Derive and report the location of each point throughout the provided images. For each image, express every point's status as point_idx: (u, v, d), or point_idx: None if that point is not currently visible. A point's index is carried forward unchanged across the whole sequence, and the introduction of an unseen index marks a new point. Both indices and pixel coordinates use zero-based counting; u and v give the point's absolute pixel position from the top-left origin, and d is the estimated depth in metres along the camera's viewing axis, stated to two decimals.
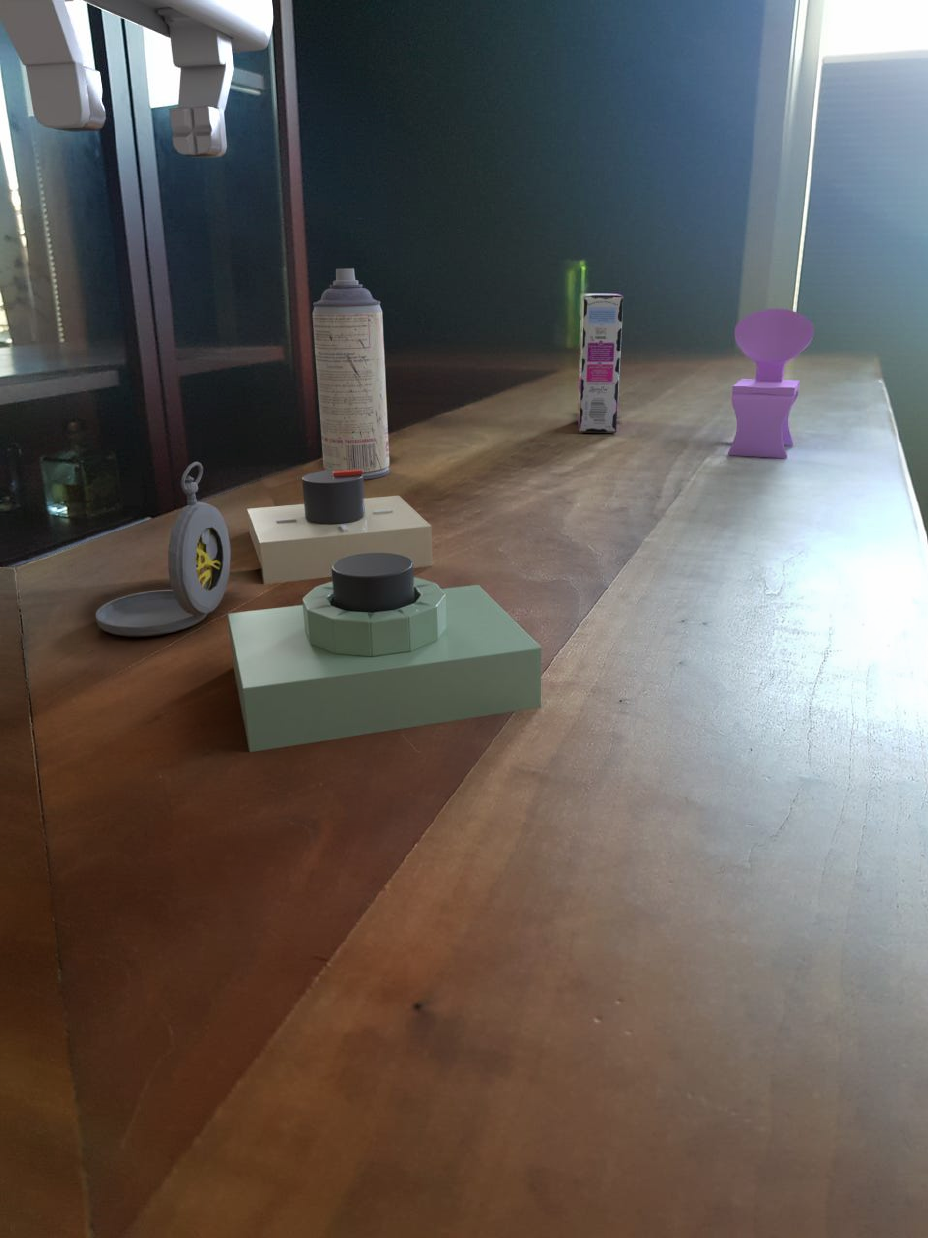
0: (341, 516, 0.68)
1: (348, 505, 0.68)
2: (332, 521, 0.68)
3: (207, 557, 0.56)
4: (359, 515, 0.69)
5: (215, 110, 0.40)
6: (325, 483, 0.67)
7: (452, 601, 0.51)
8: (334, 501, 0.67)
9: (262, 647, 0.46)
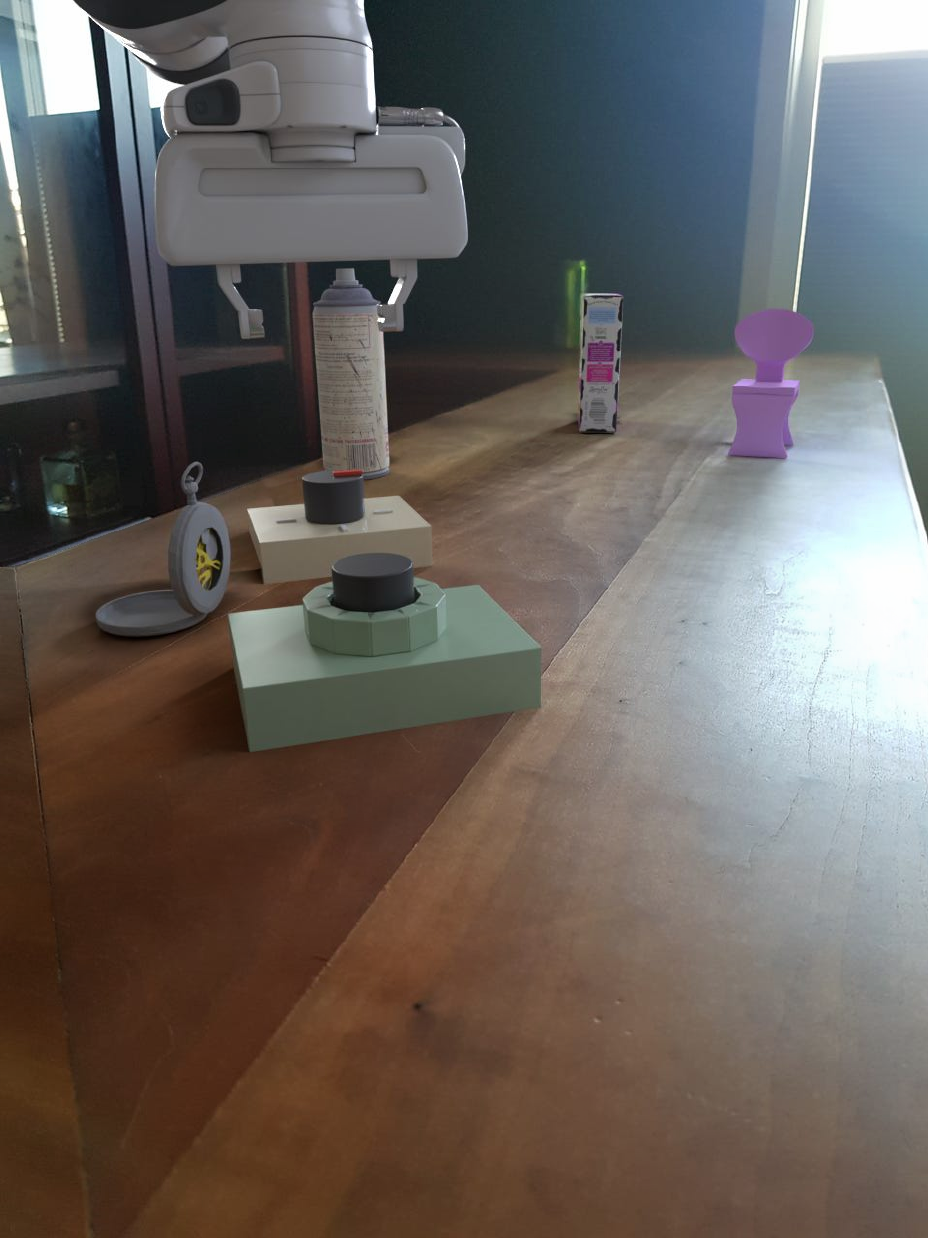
0: (341, 516, 0.68)
1: (348, 505, 0.68)
2: (332, 521, 0.68)
3: (207, 557, 0.56)
4: (359, 515, 0.69)
5: (390, 306, 0.64)
6: (325, 483, 0.67)
7: (452, 601, 0.51)
8: (334, 501, 0.67)
9: (262, 647, 0.46)
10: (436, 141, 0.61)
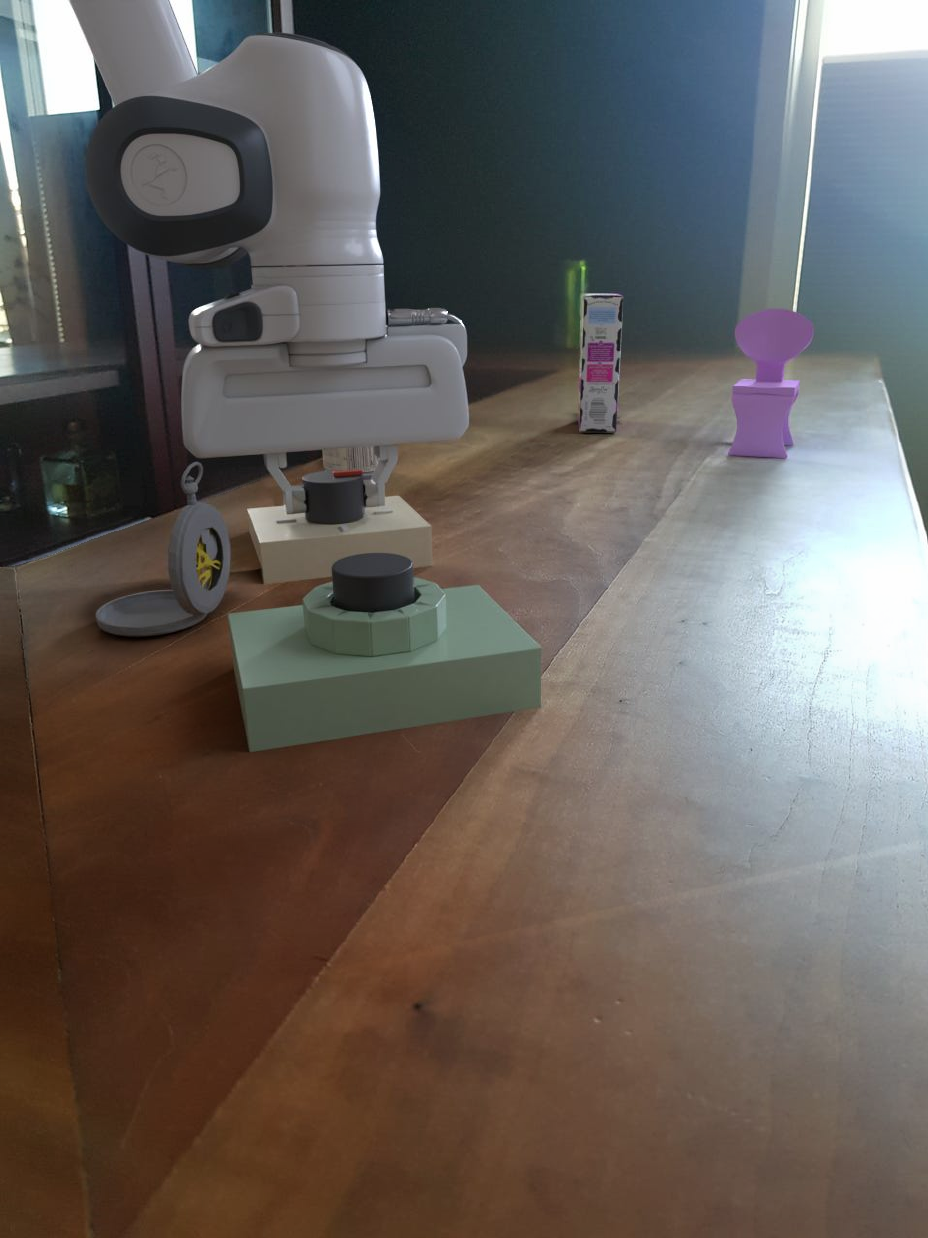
0: (341, 516, 0.68)
1: (348, 505, 0.68)
2: (332, 521, 0.68)
3: (207, 557, 0.56)
4: (359, 515, 0.69)
5: (373, 485, 0.69)
6: (325, 483, 0.67)
7: (452, 601, 0.51)
8: (334, 501, 0.67)
9: (262, 647, 0.46)
10: (441, 341, 0.66)
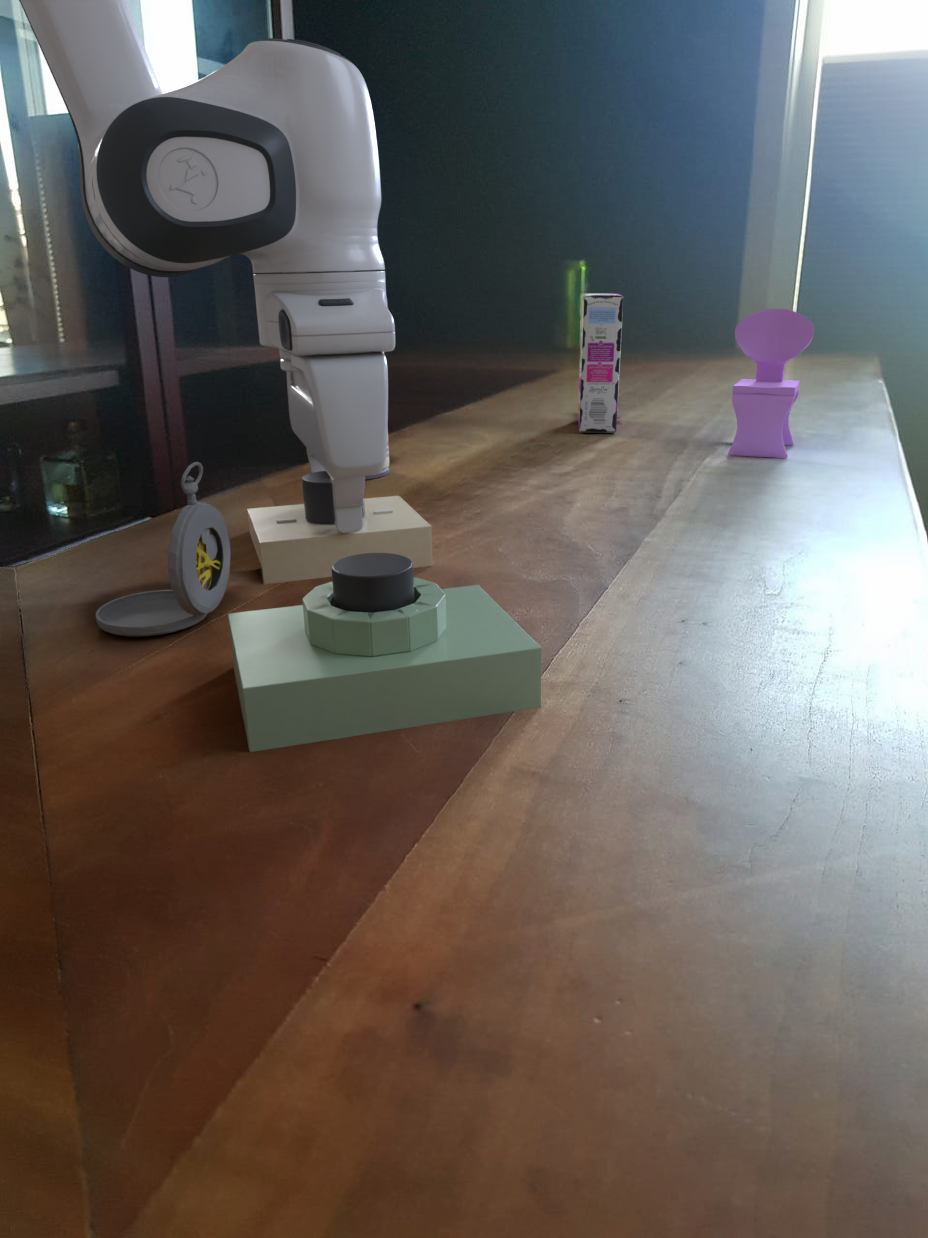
0: None
1: None
2: (364, 513, 0.69)
3: (207, 557, 0.56)
4: None
5: None
6: None
7: (452, 601, 0.51)
8: None
9: (262, 647, 0.46)
10: None
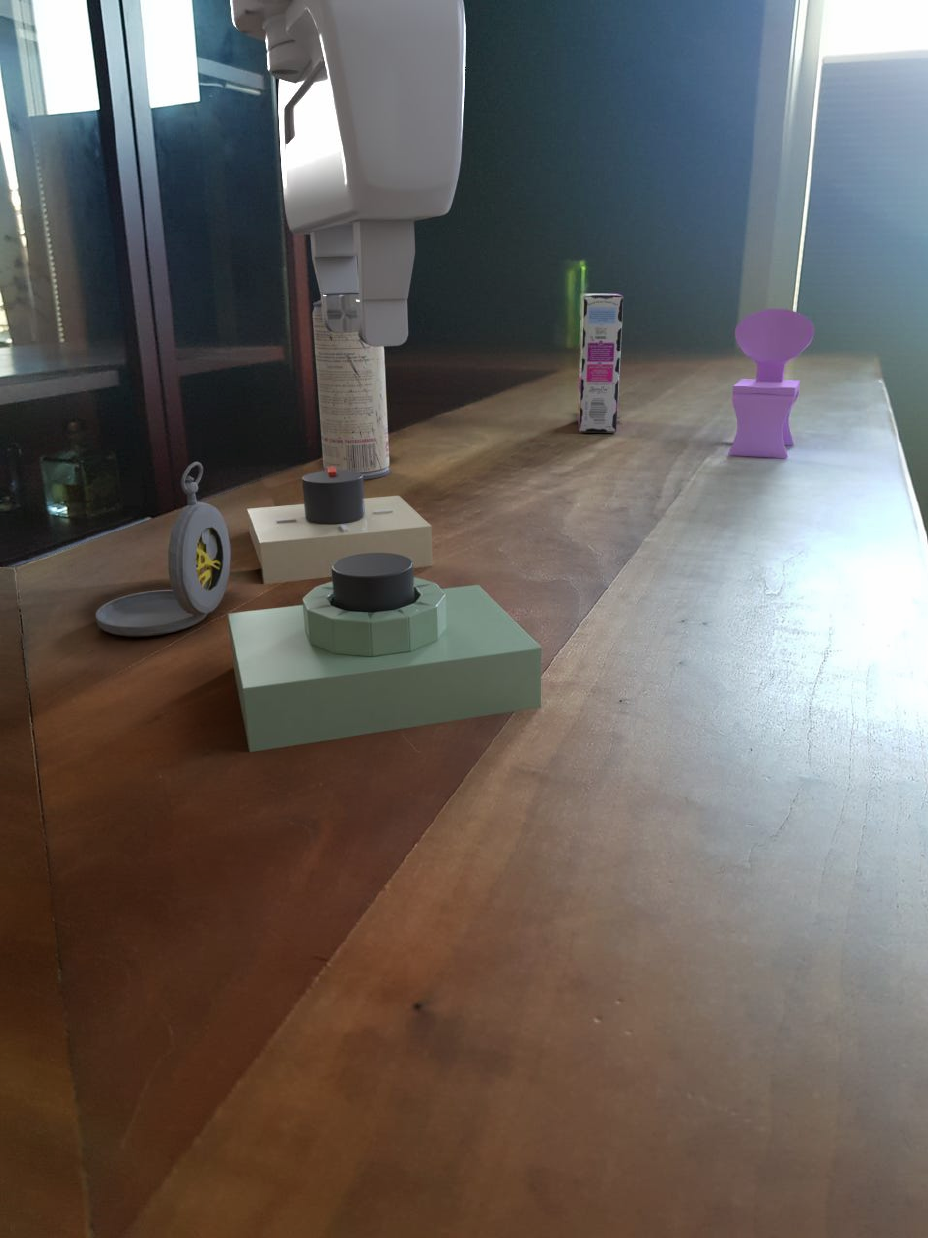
0: None
1: None
2: (364, 513, 0.69)
3: (207, 557, 0.56)
4: None
5: None
6: (361, 477, 0.68)
7: (452, 601, 0.51)
8: None
9: (262, 647, 0.46)
10: None
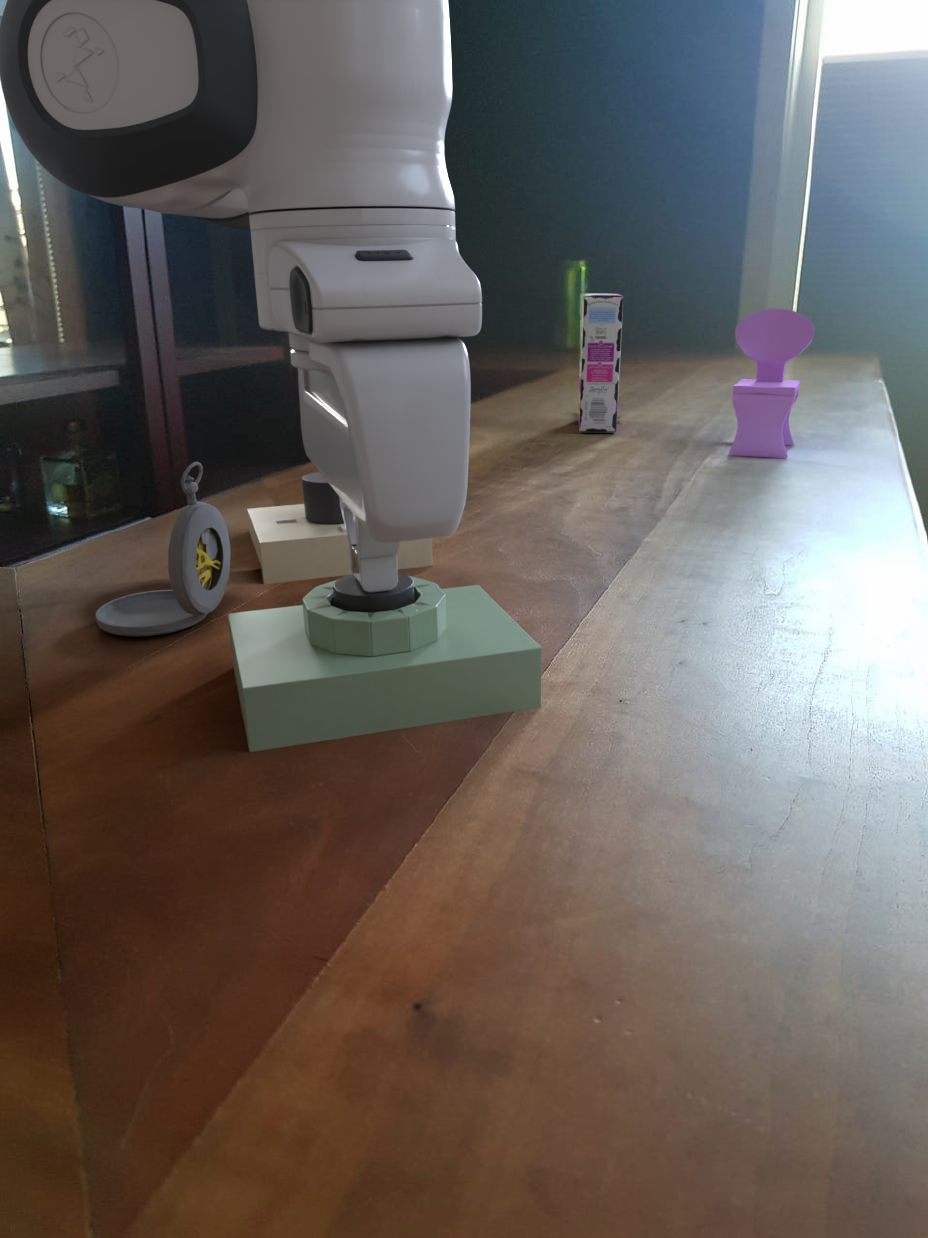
0: None
1: None
2: None
3: (207, 557, 0.56)
4: None
5: None
6: None
7: (452, 601, 0.51)
8: None
9: (262, 647, 0.46)
10: None
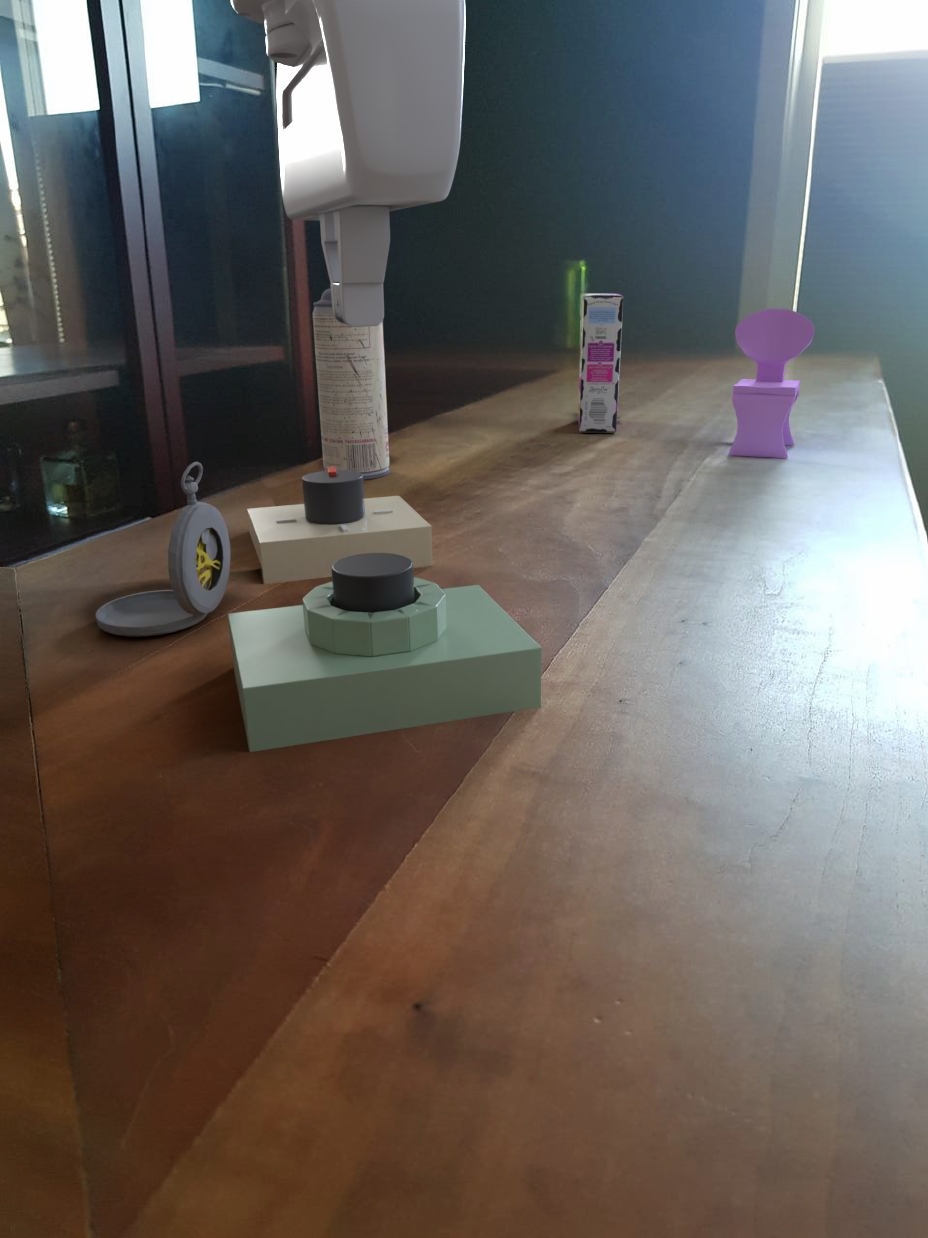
0: None
1: None
2: (364, 513, 0.69)
3: (207, 557, 0.56)
4: None
5: None
6: (361, 477, 0.68)
7: (452, 601, 0.51)
8: None
9: (262, 647, 0.46)
10: None
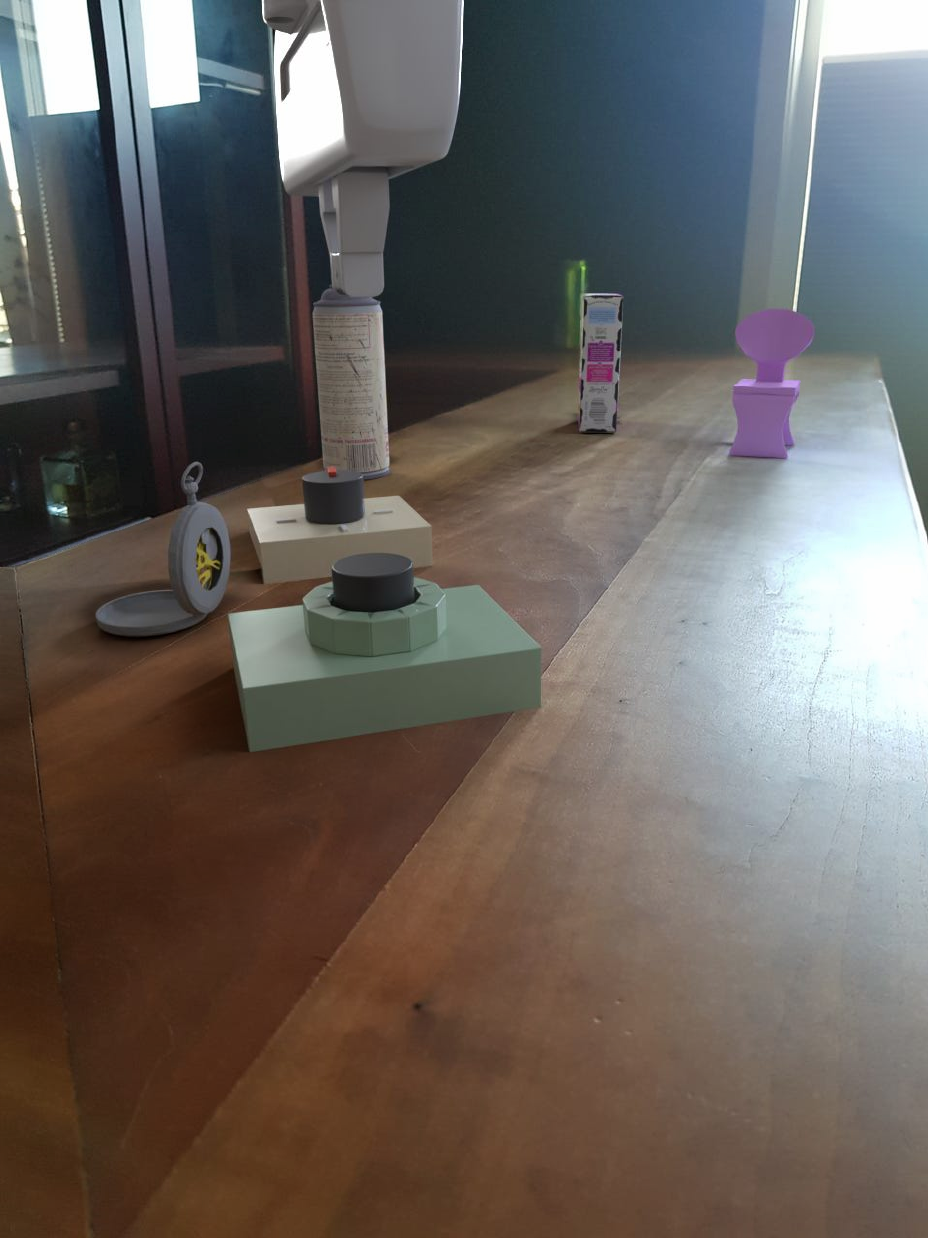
0: None
1: None
2: (364, 513, 0.69)
3: (207, 557, 0.56)
4: None
5: None
6: (361, 477, 0.68)
7: (452, 601, 0.51)
8: None
9: (262, 647, 0.46)
10: None
